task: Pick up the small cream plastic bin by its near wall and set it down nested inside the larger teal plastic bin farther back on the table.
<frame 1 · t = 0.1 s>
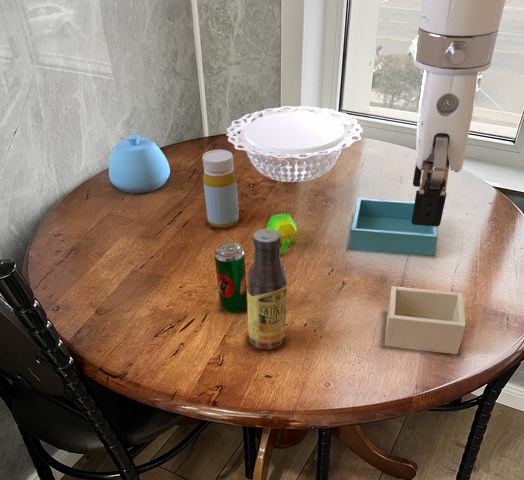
hand: (425, 204, 66), 28 cm above the table, tool pointing down, fingers open, 9 cm apart
soda can: (234, 306, 98), on the table
sauce bottle: (268, 340, 91), on the table
lone bin: (420, 333, 91), on the table
sugar bowl: (141, 182, 137), on the table
white lattice bowl: (293, 181, 134), on the table
bottle: (223, 222, 121), on the table
bin: (392, 235, 114), on the table
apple: (283, 244, 113), on the table
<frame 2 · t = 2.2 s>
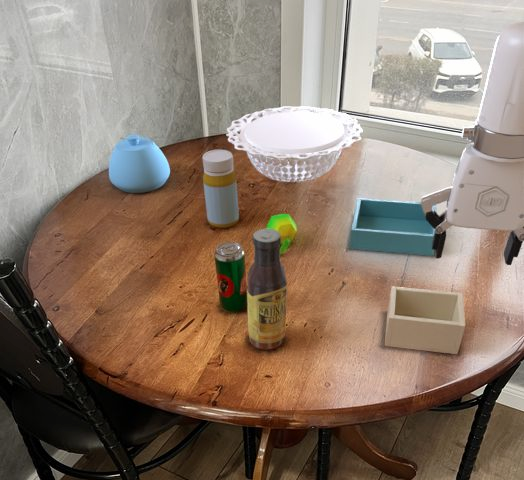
hand: (472, 256, 79), 16 cm above the table, tool pointing down, fingers open, 9 cm apart
nothing on the table moved.
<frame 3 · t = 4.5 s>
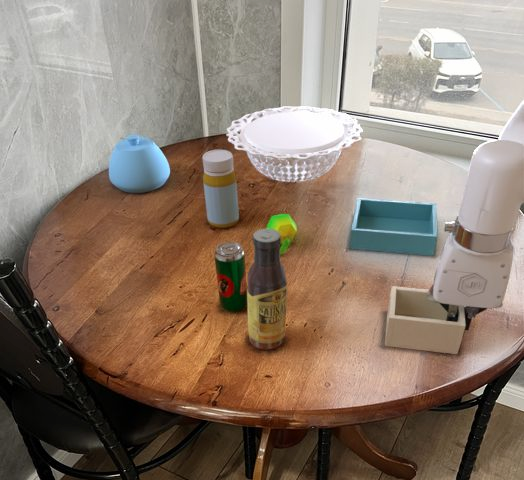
hand: (455, 331, 89), 1 cm above the table, tool pointing down, fingers closed on lone bin
lone bin: (420, 333, 91), on the table, touching gripper
everything else where it was.
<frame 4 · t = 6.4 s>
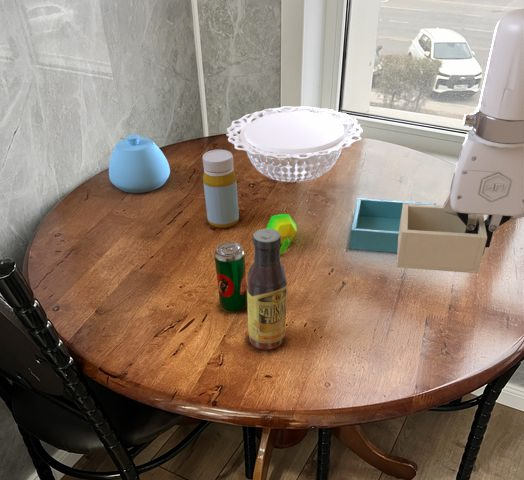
hand: (474, 249, 80), 16 cm above the table, tool pointing down, fingers closed on lone bin
lone bin: (435, 254, 82), point 14 cm above the table, touching gripper
everything else where it was.
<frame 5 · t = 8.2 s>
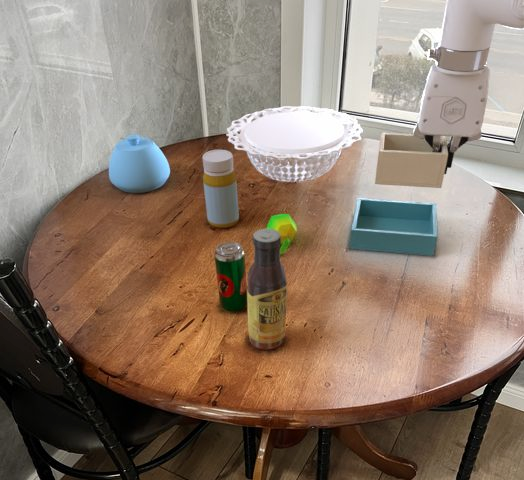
hand: (439, 170, 97), 17 cm above the table, tool pointing down, fingers closed on lone bin
lone bin: (407, 175, 99), point 16 cm above the table, touching gripper
everything else where it was.
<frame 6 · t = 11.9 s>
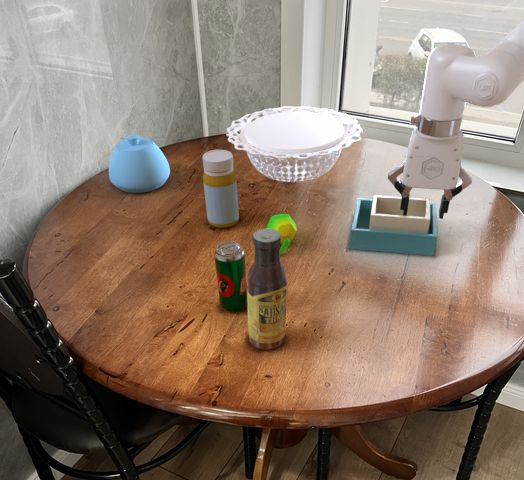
hand: (422, 213, 109), 5 cm above the table, tool pointing down, fingers open, 6 cm apart
lone bin: (396, 232, 113), point 1 cm above the table, touching bin
everything else where it was.
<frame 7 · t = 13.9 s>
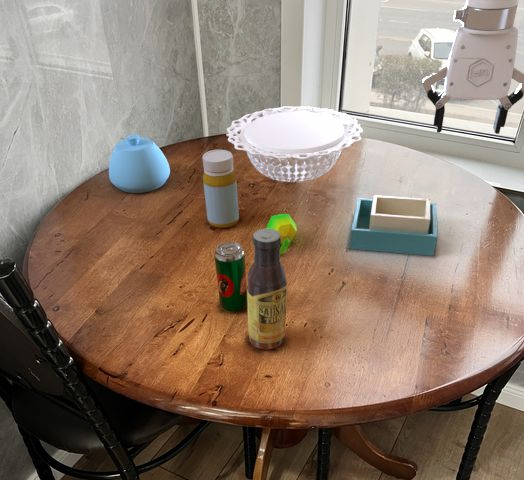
hand: (467, 130, 95), 23 cm above the table, tool pointing down, fingers open, 9 cm apart
nothing on the table moved.
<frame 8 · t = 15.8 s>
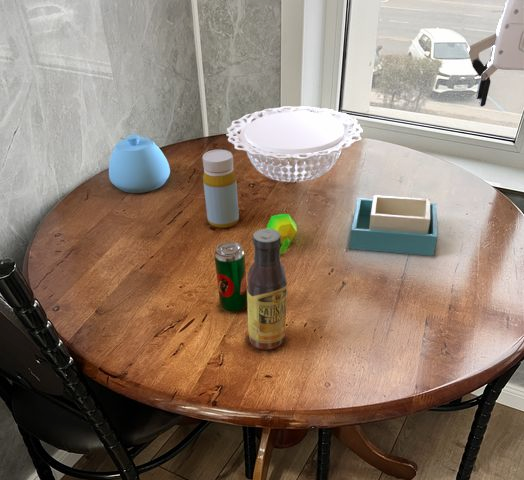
hand: (512, 104, 89), 28 cm above the table, tool pointing down, fingers open, 9 cm apart
nothing on the table moved.
at the end: lone bin 0.9 cm off-centre in the bin, point 0.6 cm above the bin's base; lone bin tilted 0° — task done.
